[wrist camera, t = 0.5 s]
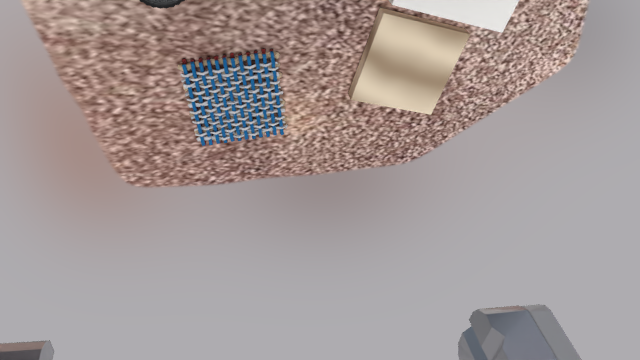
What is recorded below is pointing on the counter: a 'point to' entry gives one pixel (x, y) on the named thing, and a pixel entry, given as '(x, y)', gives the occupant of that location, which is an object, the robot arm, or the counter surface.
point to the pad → (407, 61)
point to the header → (465, 11)
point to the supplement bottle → (162, 3)
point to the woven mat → (234, 96)
